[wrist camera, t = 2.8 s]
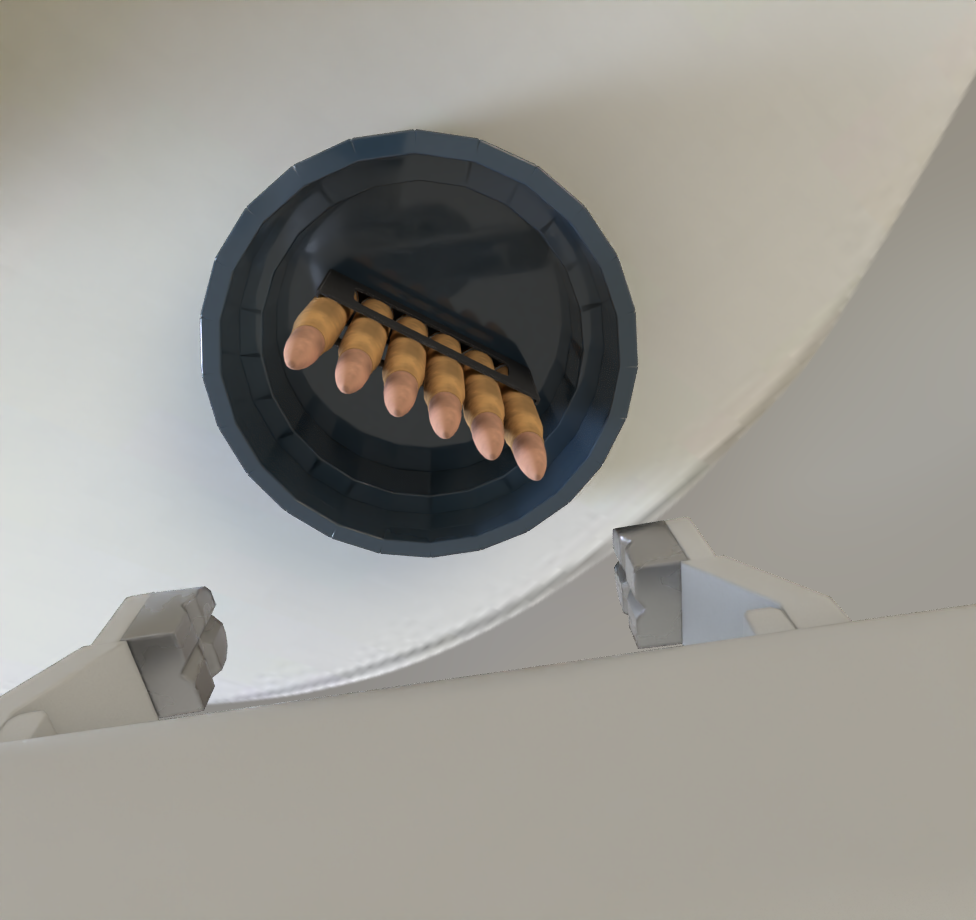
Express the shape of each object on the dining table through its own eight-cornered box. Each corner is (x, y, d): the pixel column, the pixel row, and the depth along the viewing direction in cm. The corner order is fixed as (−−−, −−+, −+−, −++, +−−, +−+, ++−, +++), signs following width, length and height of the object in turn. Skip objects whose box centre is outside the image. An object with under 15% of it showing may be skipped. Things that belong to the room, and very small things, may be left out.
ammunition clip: (531, 369, 34) (575, 467, 23) (513, 400, 35) (548, 511, 24) (329, 268, 32) (273, 324, 21) (314, 304, 32) (251, 377, 21)
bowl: (291, 520, 37) (265, 582, 32) (192, 167, 30) (137, 168, 24) (614, 472, 37) (645, 526, 32) (592, 110, 30) (626, 98, 25)
